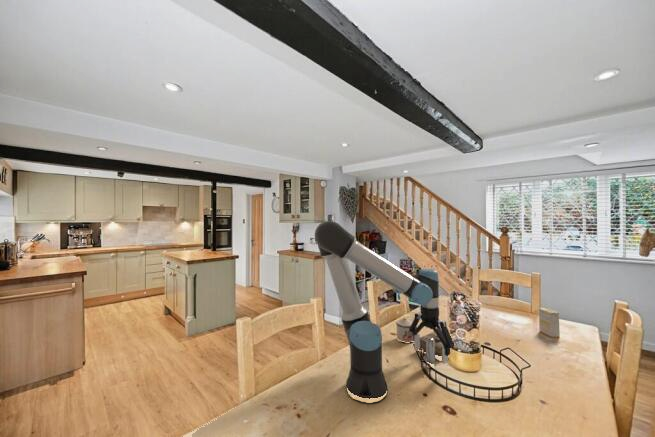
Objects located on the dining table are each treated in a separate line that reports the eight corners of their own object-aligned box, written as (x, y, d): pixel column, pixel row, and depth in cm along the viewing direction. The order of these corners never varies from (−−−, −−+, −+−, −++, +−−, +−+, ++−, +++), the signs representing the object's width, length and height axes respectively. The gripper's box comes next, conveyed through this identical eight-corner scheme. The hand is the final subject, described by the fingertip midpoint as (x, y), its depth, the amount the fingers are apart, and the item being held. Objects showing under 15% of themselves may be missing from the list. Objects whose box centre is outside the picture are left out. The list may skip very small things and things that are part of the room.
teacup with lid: (403, 345, 133) (403, 322, 133) (392, 338, 141) (392, 316, 141) (422, 341, 137) (422, 318, 137) (411, 334, 145) (410, 313, 146)
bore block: (440, 361, 117) (440, 348, 117) (417, 351, 127) (417, 338, 127) (460, 351, 125) (460, 338, 126) (437, 342, 135) (437, 330, 136)
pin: (431, 370, 110) (431, 341, 111) (424, 366, 113) (424, 338, 113) (436, 367, 112) (436, 339, 112) (429, 363, 115) (429, 336, 115)
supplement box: (560, 337, 139) (559, 312, 139) (551, 337, 139) (550, 312, 139) (547, 331, 147) (546, 307, 147) (538, 331, 147) (538, 307, 147)
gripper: (462, 312, 105) (464, 365, 104) (411, 297, 126) (412, 342, 125) (452, 316, 101) (453, 372, 100) (400, 300, 121) (401, 346, 121)
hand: (430, 355), depth 113 cm, fingers open, 13 cm apart
